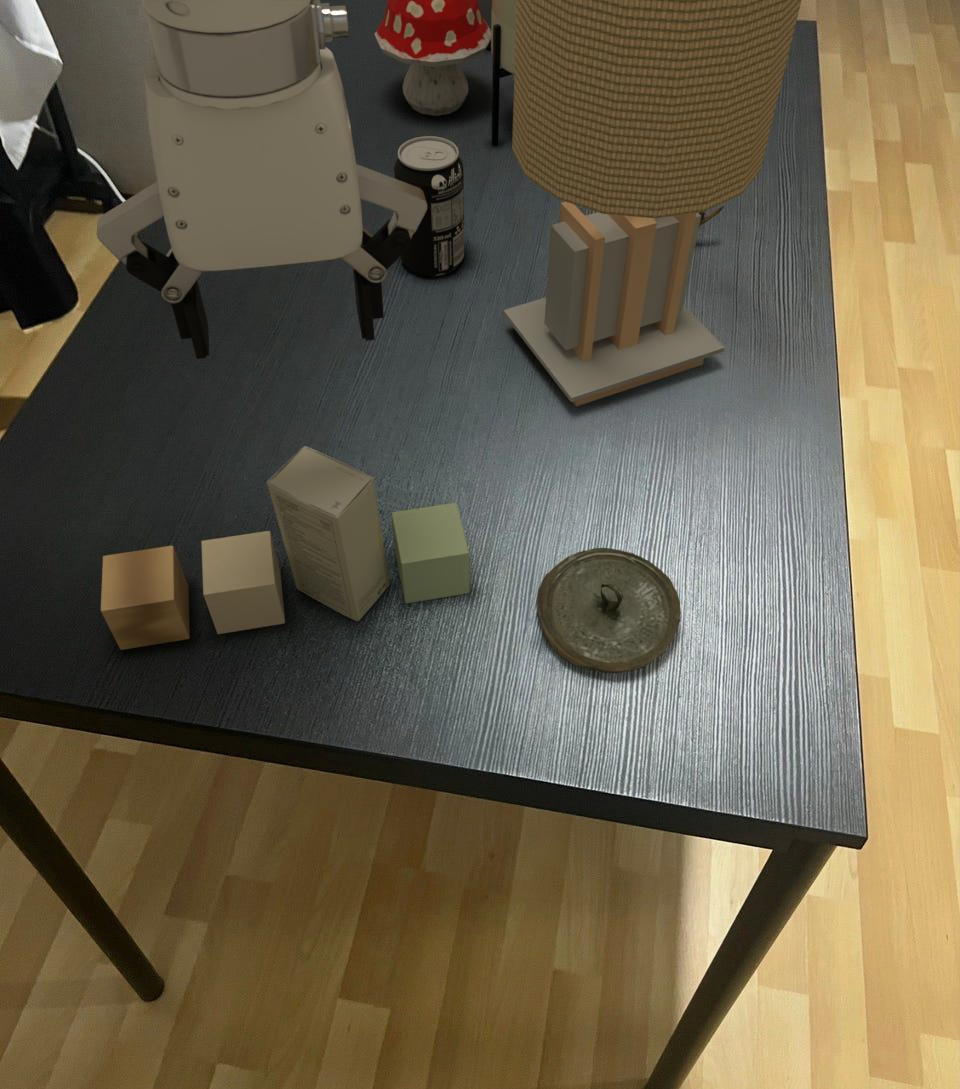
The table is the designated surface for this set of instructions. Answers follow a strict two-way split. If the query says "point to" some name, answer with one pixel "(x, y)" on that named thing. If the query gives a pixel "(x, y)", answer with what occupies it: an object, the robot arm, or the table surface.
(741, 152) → the desk lamp
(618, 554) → the lid
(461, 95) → the decorative mushroom
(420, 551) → the block
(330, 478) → the cosmetic box
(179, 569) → the block
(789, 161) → the table surface
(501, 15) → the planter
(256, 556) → the block
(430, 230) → the beverage can
